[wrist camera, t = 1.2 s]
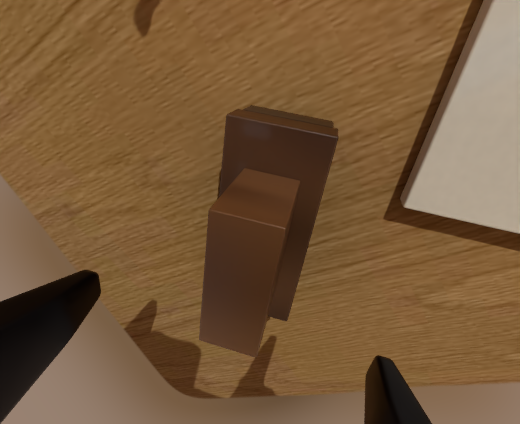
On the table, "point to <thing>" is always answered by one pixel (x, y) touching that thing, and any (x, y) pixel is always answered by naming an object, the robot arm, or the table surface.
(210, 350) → the table surface
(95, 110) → the table surface
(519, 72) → the tile
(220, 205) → the brown stepped block
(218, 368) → the table surface
